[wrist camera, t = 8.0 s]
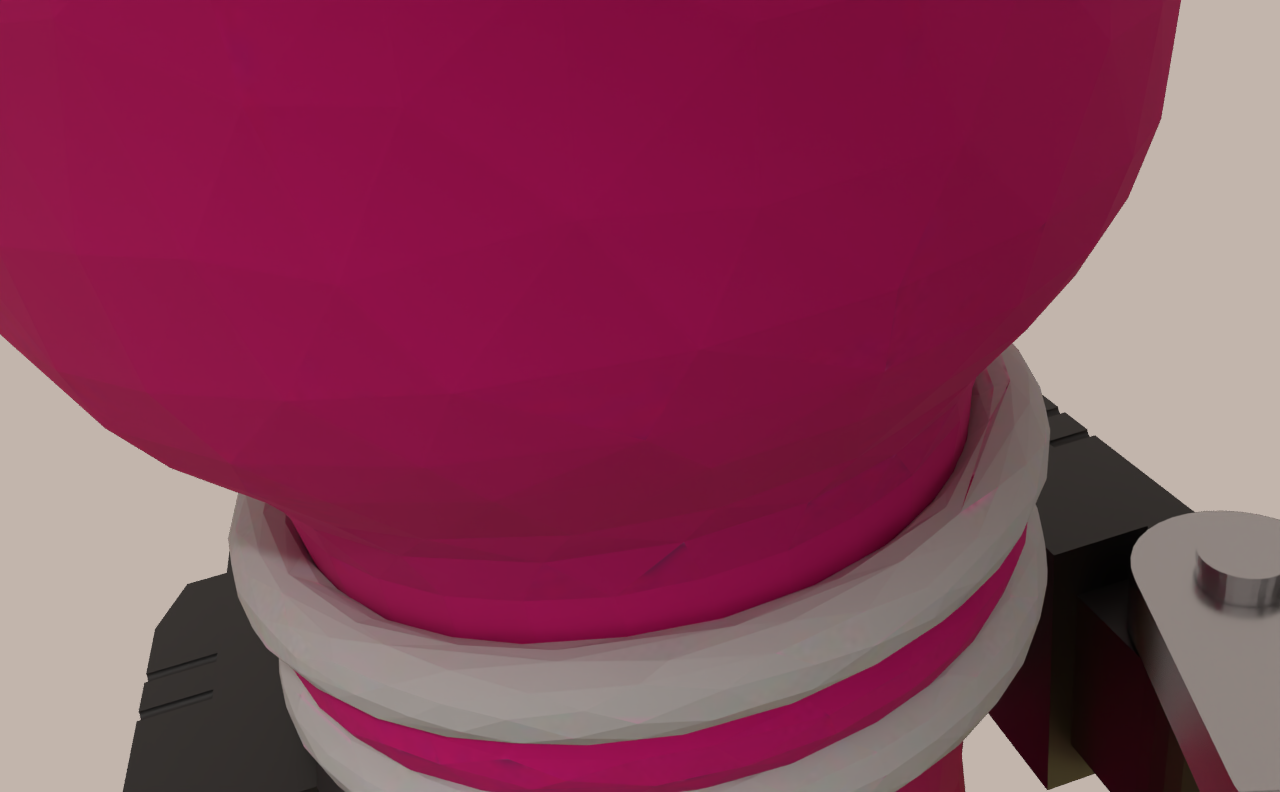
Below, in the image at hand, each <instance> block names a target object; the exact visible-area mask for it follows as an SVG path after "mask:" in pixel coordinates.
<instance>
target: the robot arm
mask: <svg viewBox="0 0 1280 792" xmlns="http://www.w3.org/2000/svg"><path fill="white" fill-rule="evenodd" d="M1042 397H1043V400H1044V404H1045V408H1046V412H1047V417H1048V422H1049V427H1050V440H1049V454H1048V467H1047V479H1046V481H1045V484H1044V486H1043V488H1042V490H1041V493H1040V495H1039V497H1038V499H1037V502H1036V506H1037V508H1038V513H1039V517H1040V522H1041V526H1042V531H1043V536H1044V541H1045V548H1046V559H1047V586H1046V591H1045V596H1044V601H1043V606H1042V612H1041V617H1040V620H1039V622H1038V625H1037V628H1036V631H1035V633H1034V636H1033V639H1032V642H1031V644H1030V647H1029V650H1028V653H1027V655H1026V658H1025V661H1024V664H1023V665H1022V667H1021V668H1020V669H1019V671H1018V672H1017V674H1016V675H1015V677H1014V678H1013V680H1012V681H1011V683H1010V684H1009V686H1008V687H1007V689H1006V690H1005V692H1004V693H1003V695H1002V696H1001V698H1000V699H999V701H998V702H997V704H996V705H995V706H994V707H993V708H992V709H991V710H990V711H989V712H988V713H989V714H990V716H991V717H992V719H993V720H994V721H995V722H996V724H997V725H998V726H999V728H1000V729H1001V730H1002V732H1003V733H1004V734H1005V735H1006V737H1007V738H1008V739H1009V741H1010V742H1011V743H1012V744H1013V746H1014V747H1015V749H1016V750H1017V751H1018V752H1019V754H1020V755H1021V756H1022V757H1023V759H1024V760H1025V762H1026V763H1027V764H1028V765H1029V767H1030V768H1031V769H1032V771H1033V772H1034V773H1035V775H1036V776H1037V777H1038V779H1039V780H1040V781H1041V782H1042V784H1043V785H1044V786H1045V788H1046V789H1047V790H1050V789H1052V788H1055V787H1058V786H1061V785H1064V784H1067V783H1069V782H1072V781H1075V780H1078V779H1081V778H1084V777H1086V776H1089V775H1092V774H1096V775H1097V776H1098V778H1099V779H1100V780H1101V781H1102V782H1103V784H1104V785H1105V786H1106V787H1107V788H1108V790H1109V791H1110V792H1280V520H1278V519H1274V518H1270V517H1266V516H1262V515H1257V514H1251V513H1244V512H1234V511H1203V512H1194V511H1192V510H1191V509H1190V508H1188V507H1187V506H1186V505H1184V504H1183V503H1182V502H1181V501H1179V500H1178V499H1177V498H1175V497H1174V496H1173V495H1172V494H1170V493H1169V492H1168V491H1166V490H1165V489H1164V488H1162V487H1161V486H1160V485H1158V484H1157V483H1156V482H1155V481H1153V480H1152V479H1150V478H1149V477H1148V476H1147V475H1145V474H1144V473H1143V472H1142V471H1140V470H1139V469H1138V468H1136V467H1135V466H1134V465H1132V464H1131V463H1130V462H1129V461H1127V460H1126V459H1125V458H1124V457H1122V456H1121V455H1120V454H1118V453H1117V452H1116V451H1114V450H1113V449H1111V447H1109V446H1108V445H1107V444H1105V443H1104V442H1103V441H1101V440H1100V439H1099V438H1098V437H1096V436H1092V437H1089V435H1088V432H1087V429H1086V428H1085V427H1083V426H1082V425H1081V424H1079V423H1078V422H1077V421H1075V420H1074V419H1073V418H1072V417H1070V416H1069V415H1068V414H1066V413H1062V414H1060V413H1059V410H1058V407H1057V406H1056V405H1055V404H1053V403H1052V402H1051V401H1050V400H1048V399H1047V398H1046V397H1044V396H1043V395H1042ZM146 674H147V677H148V682H146V683H144V688H143V694H142V698H141V703H140V708H139V713H140V717H141V720H140V721H137V723H136V729H135V733H134V739H133V743H132V748H131V753H130V759H129V763H128V769H127V773H126V779H125V784H124V789H123V792H345V791H344V790H342V789H341V788H340V787H339V786H338V785H337V784H336V783H335V782H334V781H333V779H332V778H331V777H330V776H329V775H328V774H327V773H326V771H325V770H324V769H323V768H322V767H321V766H320V765H319V763H318V762H317V761H316V760H315V759H314V758H313V757H312V755H311V754H310V753H309V752H308V751H307V750H306V748H305V747H304V746H303V744H302V741H301V739H300V737H299V735H298V732H297V730H296V728H295V726H294V723H293V721H292V719H291V717H290V714H289V712H288V710H287V708H286V703H285V698H284V693H283V689H282V684H281V679H280V674H279V658H278V657H277V656H276V655H275V654H273V653H272V652H271V651H270V650H268V649H267V648H266V646H265V645H264V644H263V642H262V641H261V639H260V638H259V636H258V635H257V634H256V632H255V631H254V629H253V628H252V626H251V624H250V621H249V619H248V617H247V615H246V613H245V611H244V609H243V606H242V604H241V602H240V600H239V598H238V594H237V590H236V585H235V580H234V575H233V570H232V565H231V558H230V551H229V561H228V568H227V573H225V574H222V575H218V576H214V577H211V578H208V579H204V580H200V581H197V582H193V583H190V584H187V586H186V587H185V588H184V590H183V591H182V593H181V594H180V595H179V597H178V598H177V600H176V601H175V602H174V604H173V605H172V606H171V608H170V609H169V611H168V612H167V613H166V615H165V616H164V618H163V619H162V621H161V622H160V623H159V625H158V626H157V627H156V629H155V633H154V638H153V643H152V648H151V653H150V658H149V663H148V668H147V673H146Z"/></svg>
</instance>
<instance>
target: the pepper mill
mask: <svg viewBox="0 0 1280 792" xmlns="http://www.w3.org/2000/svg"><path fill="white" fill-rule="evenodd" d="M1180 3H1181V0H0V334H1V335H2V336H3V337H4V338H5V339H6V340H7V341H8V342H9V343H11V344H12V345H13V346H14V347H15V348H16V349H17V350H18V351H20V352H21V353H22V354H23V355H24V356H25V357H26V358H27V359H28V360H30V361H31V362H32V363H33V364H34V365H35V366H36V367H37V368H39V369H40V370H41V371H42V372H43V373H44V374H45V375H46V376H47V377H49V378H50V379H51V380H52V381H53V382H54V383H55V384H56V385H58V386H59V387H60V388H61V389H62V390H63V391H64V392H65V393H67V394H68V395H69V396H70V397H71V398H72V399H73V400H74V401H75V402H77V403H78V404H79V405H80V406H81V407H82V408H83V409H84V410H86V411H87V412H88V413H89V414H90V415H91V416H92V417H93V418H94V419H95V420H97V421H98V422H99V423H100V424H101V425H102V426H103V427H104V428H106V429H107V430H109V431H111V432H113V433H114V434H116V435H117V436H119V437H121V438H122V439H124V440H126V441H127V442H129V443H130V444H132V445H134V446H135V447H137V448H139V449H140V450H142V451H144V452H145V453H147V454H149V455H150V456H152V457H154V458H155V459H157V460H158V461H160V462H162V463H163V464H165V465H167V466H168V467H170V468H172V469H175V470H178V471H180V472H183V473H186V474H189V475H191V476H194V477H197V478H199V479H202V480H205V481H208V482H210V483H213V484H216V485H219V486H221V487H224V488H227V489H229V490H232V491H235V492H238V497H237V501H236V505H235V510H234V515H233V519H232V524H231V528H230V532H229V537H228V541H229V549H230V558H231V565H232V570H233V575H234V580H235V585H236V590H237V594H238V598H239V600H240V602H241V604H242V606H243V609H244V611H245V613H246V615H247V617H248V619H249V621H250V624H251V626H252V628H253V629H254V631H255V632H256V634H257V635H258V636H259V638H260V639H261V641H262V642H263V644H264V645H265V646H266V648H267V649H268V650H270V651H271V652H272V653H273V654H275V655H276V656H277V657H278V658H279V674H280V679H281V684H282V689H283V693H284V698H285V703H286V708H287V710H288V712H289V714H290V717H291V719H292V721H293V723H294V726H295V728H296V730H297V732H298V735H299V737H300V739H301V741H302V744H303V746H304V747H305V748H306V750H307V751H308V752H309V753H310V754H311V755H312V757H313V758H314V759H315V760H316V761H317V762H318V763H319V765H320V766H321V767H322V768H323V769H324V770H325V771H326V773H327V774H328V775H329V776H330V777H331V778H332V779H333V781H334V782H335V783H336V784H337V785H338V786H339V787H340V788H341V789H342V790H344V791H345V792H965V784H964V774H963V762H962V748H963V740H964V739H965V738H966V737H967V736H968V735H969V733H970V732H971V731H972V730H973V729H974V728H975V727H976V726H977V725H978V724H979V722H980V721H981V720H982V719H983V718H984V717H985V716H986V715H987V714H988V712H989V711H990V710H991V709H992V708H993V707H994V706H995V705H996V704H997V702H998V701H999V699H1000V698H1001V696H1002V695H1003V693H1004V692H1005V690H1006V689H1007V687H1008V686H1009V684H1010V683H1011V681H1012V680H1013V678H1014V677H1015V675H1016V674H1017V672H1018V671H1019V669H1020V668H1021V667H1022V665H1023V664H1024V661H1025V658H1026V655H1027V653H1028V650H1029V647H1030V644H1031V642H1032V639H1033V636H1034V633H1035V631H1036V628H1037V625H1038V622H1039V620H1040V617H1041V612H1042V606H1043V601H1044V596H1045V591H1046V586H1047V559H1046V548H1045V541H1044V536H1043V531H1042V526H1041V522H1040V517H1039V513H1038V508H1037V506H1036V502H1037V499H1038V497H1039V495H1040V493H1041V490H1042V488H1043V486H1044V484H1045V481H1046V479H1047V467H1048V454H1049V440H1050V427H1049V422H1048V417H1047V412H1046V408H1045V404H1044V400H1043V397H1042V393H1041V389H1040V386H1039V385H1038V383H1037V381H1036V379H1035V378H1034V376H1033V374H1032V373H1031V371H1030V369H1029V367H1028V366H1027V364H1026V362H1025V360H1024V359H1023V357H1022V355H1021V354H1020V352H1019V350H1018V349H1017V348H1016V347H1015V346H1014V345H1013V344H1012V343H1013V342H1014V341H1015V340H1016V339H1017V338H1018V337H1019V336H1020V335H1021V334H1022V333H1024V332H1025V331H1026V330H1027V329H1028V327H1029V326H1030V325H1031V324H1032V323H1033V322H1034V321H1035V320H1036V318H1037V317H1038V316H1039V315H1040V314H1041V313H1042V312H1043V311H1044V310H1045V309H1046V307H1047V306H1048V305H1049V304H1050V303H1051V302H1052V301H1053V300H1054V299H1055V297H1056V296H1057V295H1058V294H1059V293H1060V292H1061V291H1062V290H1063V289H1064V287H1065V286H1066V285H1067V284H1068V283H1069V282H1070V281H1071V280H1072V279H1073V277H1074V276H1075V275H1076V274H1077V272H1078V271H1079V269H1080V268H1081V266H1082V265H1083V263H1084V262H1085V260H1086V259H1087V257H1088V256H1089V254H1090V253H1091V252H1092V250H1093V249H1094V247H1095V246H1096V244H1097V243H1098V241H1099V240H1100V238H1101V237H1102V235H1103V234H1104V232H1105V231H1106V229H1107V228H1108V227H1109V225H1110V224H1111V222H1112V221H1113V219H1114V218H1115V216H1116V215H1117V213H1118V212H1119V210H1120V209H1121V207H1122V206H1123V204H1124V203H1125V202H1126V200H1127V198H1128V197H1129V194H1130V192H1131V190H1132V187H1133V185H1134V182H1135V180H1136V178H1137V175H1138V173H1139V170H1140V168H1141V166H1142V163H1143V161H1144V158H1145V156H1146V154H1147V151H1148V149H1149V147H1150V144H1151V142H1152V139H1153V137H1154V135H1155V132H1156V130H1157V127H1158V125H1159V123H1160V120H1161V116H1162V110H1163V104H1164V98H1165V92H1166V86H1167V80H1168V75H1169V68H1170V63H1171V57H1172V50H1173V45H1174V39H1175V33H1176V27H1177V21H1178V15H1179V9H1180Z"/></svg>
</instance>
